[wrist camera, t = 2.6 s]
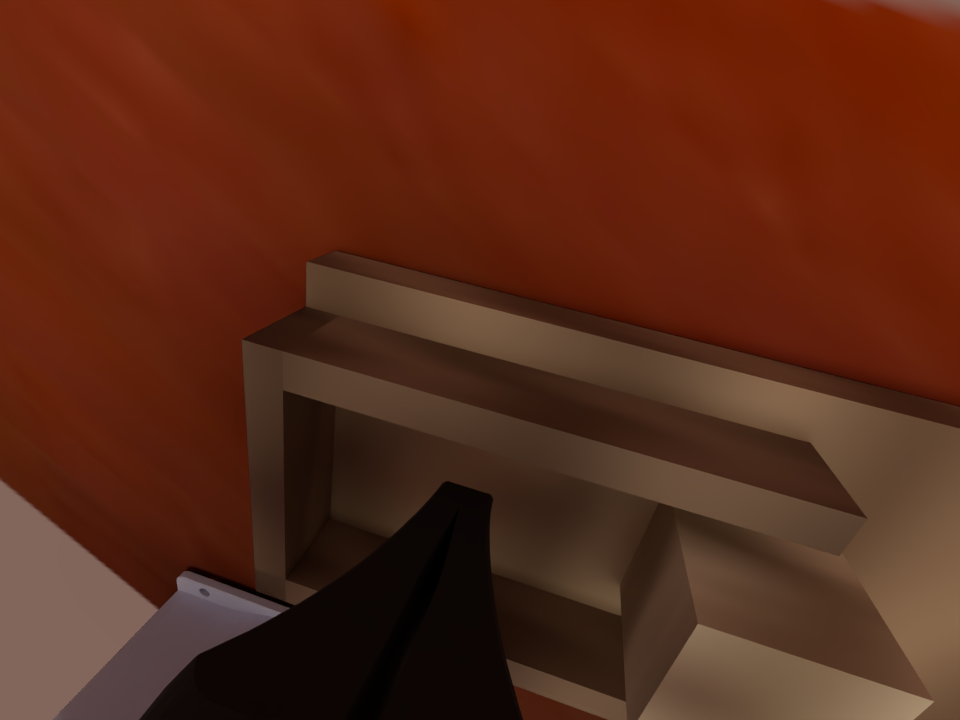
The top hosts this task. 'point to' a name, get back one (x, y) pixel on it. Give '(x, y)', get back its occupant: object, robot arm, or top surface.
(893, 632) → the board
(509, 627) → the cubby
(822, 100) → the top surface
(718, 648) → the cube
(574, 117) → the top surface
